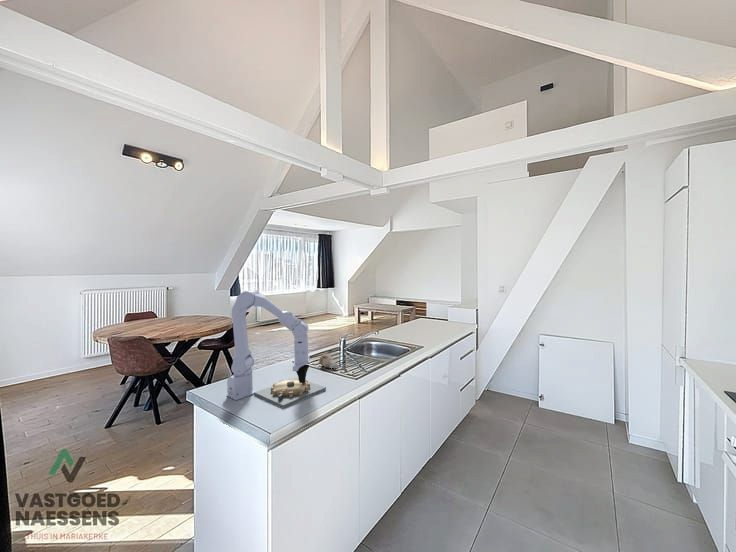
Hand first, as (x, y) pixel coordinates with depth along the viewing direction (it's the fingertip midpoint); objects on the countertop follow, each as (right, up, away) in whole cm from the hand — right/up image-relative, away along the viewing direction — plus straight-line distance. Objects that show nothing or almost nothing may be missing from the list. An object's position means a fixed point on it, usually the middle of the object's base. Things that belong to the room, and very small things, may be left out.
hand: (302, 382), depth 131 cm
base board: (-5, -4, 0) cm, 7 cm away
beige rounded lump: (+7, -4, +33) cm, 34 cm away
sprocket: (-5, -3, 0) cm, 6 cm away
